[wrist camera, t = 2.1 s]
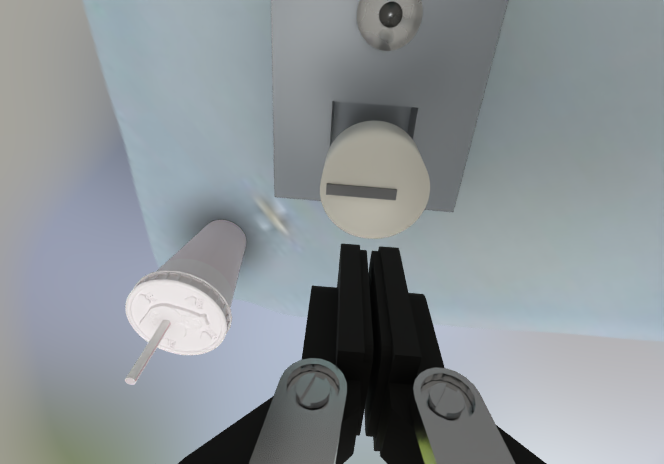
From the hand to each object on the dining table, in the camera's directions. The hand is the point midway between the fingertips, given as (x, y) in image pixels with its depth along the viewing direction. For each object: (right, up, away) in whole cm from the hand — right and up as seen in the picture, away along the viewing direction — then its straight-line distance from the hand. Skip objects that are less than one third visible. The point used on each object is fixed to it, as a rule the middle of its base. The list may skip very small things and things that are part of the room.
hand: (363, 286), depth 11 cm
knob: (+1, +6, +11) cm, 12 cm away
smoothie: (-10, +1, +20) cm, 23 cm away
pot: (+2, +13, +8) cm, 15 cm away
